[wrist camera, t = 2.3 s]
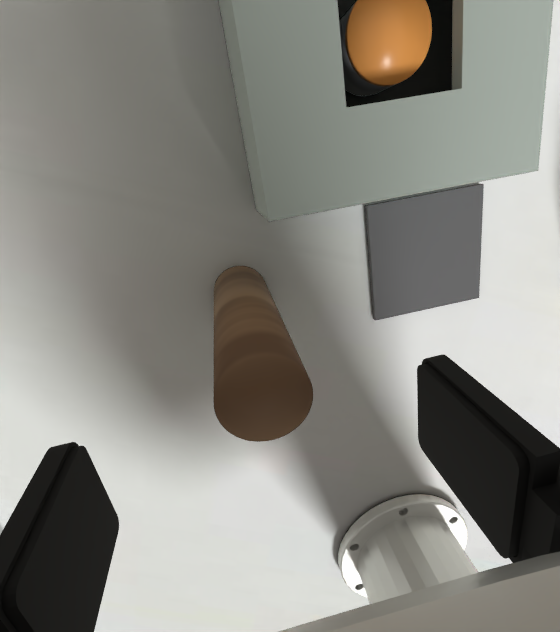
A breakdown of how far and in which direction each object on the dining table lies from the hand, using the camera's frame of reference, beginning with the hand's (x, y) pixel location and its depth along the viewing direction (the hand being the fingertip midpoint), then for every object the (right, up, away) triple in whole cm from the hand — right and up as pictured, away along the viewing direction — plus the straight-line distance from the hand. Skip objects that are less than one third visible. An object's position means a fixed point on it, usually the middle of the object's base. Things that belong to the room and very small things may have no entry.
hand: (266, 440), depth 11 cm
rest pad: (+10, +8, +16) cm, 21 cm away
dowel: (-2, +5, +15) cm, 16 cm away
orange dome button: (+5, +17, +9) cm, 20 cm away
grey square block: (+5, +18, +11) cm, 22 cm away
